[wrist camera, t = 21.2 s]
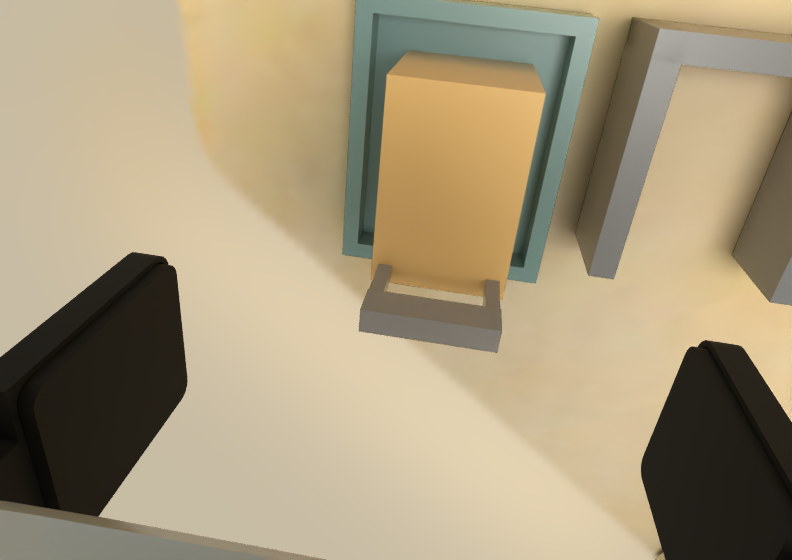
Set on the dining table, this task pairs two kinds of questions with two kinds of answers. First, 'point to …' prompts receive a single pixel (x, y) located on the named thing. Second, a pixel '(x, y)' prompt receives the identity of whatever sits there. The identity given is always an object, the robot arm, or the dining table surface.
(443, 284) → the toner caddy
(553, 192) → the tray
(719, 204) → the dining table surface
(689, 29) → the dock
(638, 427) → the dining table surface
